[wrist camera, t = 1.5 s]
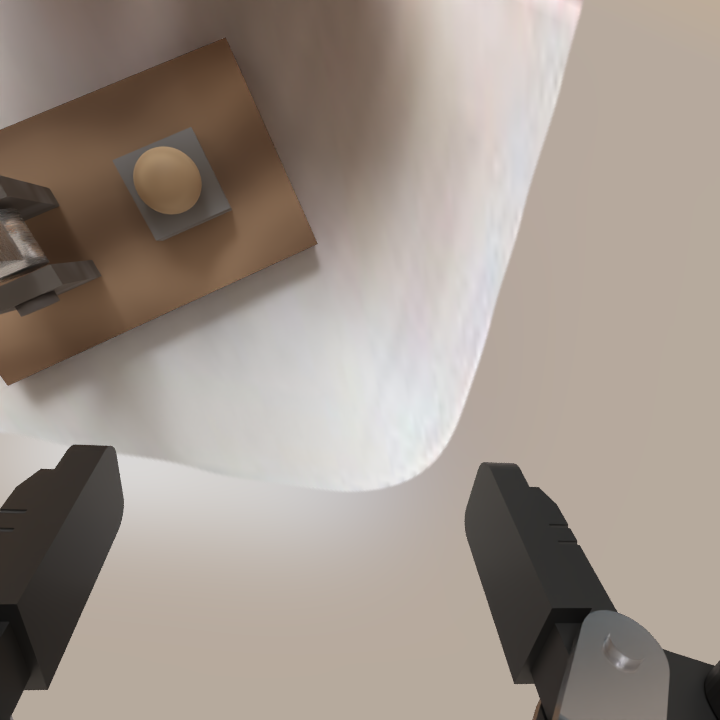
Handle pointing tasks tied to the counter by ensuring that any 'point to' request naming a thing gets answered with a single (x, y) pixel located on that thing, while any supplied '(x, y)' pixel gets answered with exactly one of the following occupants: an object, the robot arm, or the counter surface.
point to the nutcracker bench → (119, 218)
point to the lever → (17, 247)
